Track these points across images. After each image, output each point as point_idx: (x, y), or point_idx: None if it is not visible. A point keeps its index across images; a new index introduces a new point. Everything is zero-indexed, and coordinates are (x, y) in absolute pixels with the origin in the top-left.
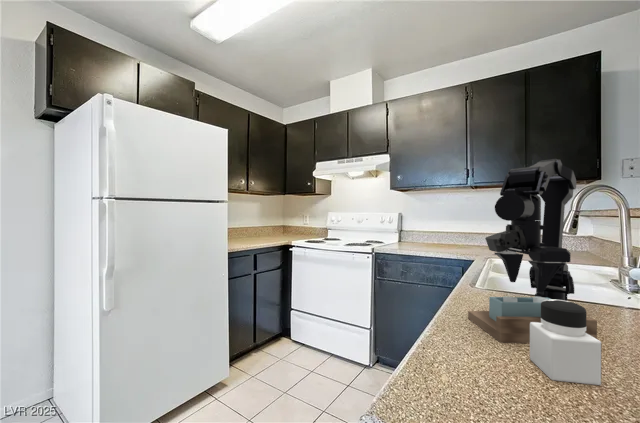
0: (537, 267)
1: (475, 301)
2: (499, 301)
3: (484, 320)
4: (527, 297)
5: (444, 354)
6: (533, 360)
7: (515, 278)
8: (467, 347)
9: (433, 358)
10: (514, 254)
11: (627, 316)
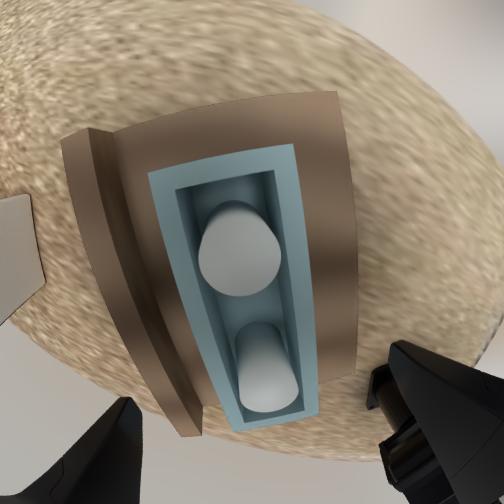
0: (4, 498)
1: (478, 212)
2: (181, 170)
3: (215, 113)
4: (312, 356)
5: (38, 20)
6: (13, 196)
7: (400, 380)
8: (64, 54)
9: (28, 9)
10: (498, 497)
11: (357, 457)
